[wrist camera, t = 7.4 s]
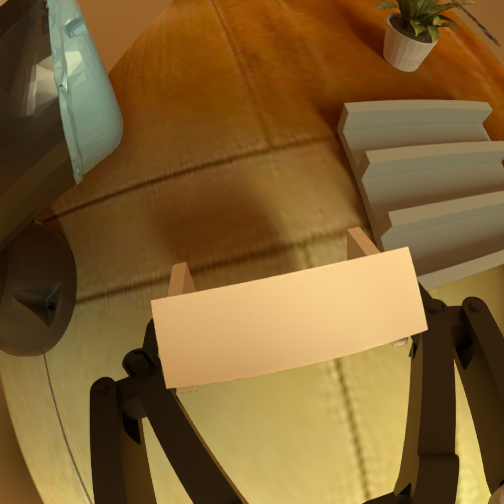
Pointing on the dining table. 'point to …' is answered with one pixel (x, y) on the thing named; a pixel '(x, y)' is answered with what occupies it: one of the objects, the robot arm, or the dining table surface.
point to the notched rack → (429, 183)
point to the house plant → (413, 31)
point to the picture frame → (288, 319)
